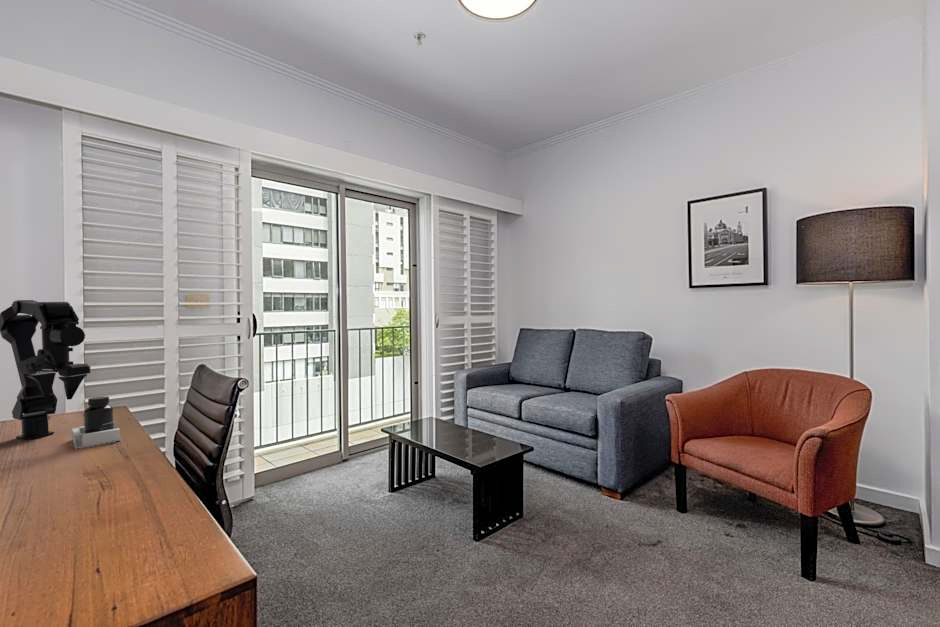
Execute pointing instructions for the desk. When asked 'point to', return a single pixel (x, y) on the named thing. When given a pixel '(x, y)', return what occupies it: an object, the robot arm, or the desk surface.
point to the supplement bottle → (98, 415)
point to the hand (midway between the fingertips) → (57, 398)
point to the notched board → (94, 437)
